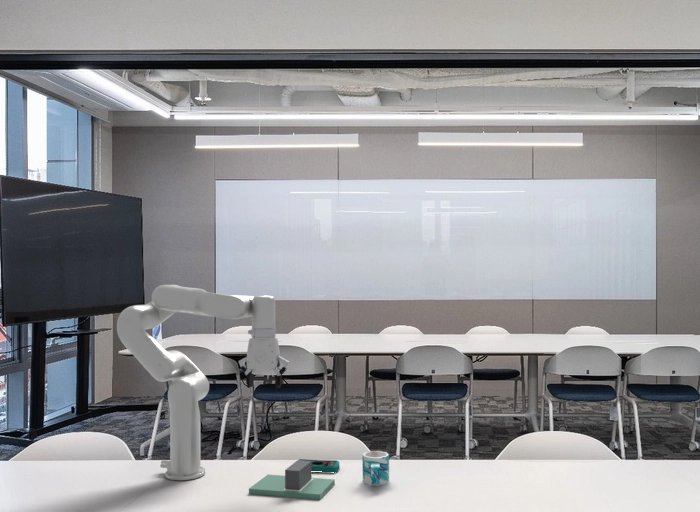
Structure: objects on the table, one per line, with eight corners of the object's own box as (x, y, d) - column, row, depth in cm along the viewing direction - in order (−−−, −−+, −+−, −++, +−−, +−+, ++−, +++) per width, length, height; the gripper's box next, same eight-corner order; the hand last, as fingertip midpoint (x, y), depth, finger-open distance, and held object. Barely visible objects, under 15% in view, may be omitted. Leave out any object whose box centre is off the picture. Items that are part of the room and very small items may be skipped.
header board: (248, 493, 181) (248, 476, 181) (267, 479, 194) (267, 463, 194) (320, 499, 175) (319, 481, 175) (334, 484, 188) (334, 467, 189)
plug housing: (285, 489, 180) (285, 470, 180) (301, 475, 193) (301, 457, 193) (299, 490, 178) (299, 471, 179) (314, 476, 191) (314, 458, 192)
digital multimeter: (337, 475, 199) (337, 465, 199) (292, 473, 202) (292, 464, 202) (340, 468, 207) (340, 459, 207) (297, 466, 209) (297, 458, 209)
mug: (389, 477, 195) (388, 450, 195) (389, 490, 183) (389, 461, 183) (363, 477, 195) (362, 450, 196) (361, 489, 183) (361, 461, 184)
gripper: (234, 334, 198) (234, 388, 197) (284, 335, 193) (284, 390, 192) (244, 332, 205) (244, 384, 204) (293, 333, 200) (293, 386, 199)
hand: (264, 387), depth 198 cm, fingers open, 9 cm apart
